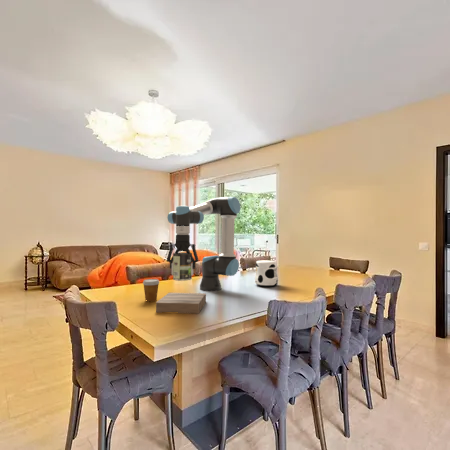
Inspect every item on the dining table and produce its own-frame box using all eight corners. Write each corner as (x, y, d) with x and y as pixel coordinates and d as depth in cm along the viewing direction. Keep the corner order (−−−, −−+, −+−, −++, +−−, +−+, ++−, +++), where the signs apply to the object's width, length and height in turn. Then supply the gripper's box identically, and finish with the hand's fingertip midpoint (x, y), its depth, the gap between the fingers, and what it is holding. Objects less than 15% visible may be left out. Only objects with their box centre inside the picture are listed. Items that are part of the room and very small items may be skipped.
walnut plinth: (169, 301, 165) (169, 292, 165) (205, 302, 162) (205, 293, 162) (156, 312, 143) (156, 302, 143) (198, 313, 140) (198, 303, 140)
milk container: (252, 283, 217) (252, 260, 217) (274, 283, 219) (274, 260, 219) (257, 288, 200) (257, 263, 200) (281, 287, 201) (281, 262, 202)
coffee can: (194, 277, 156) (194, 252, 157) (188, 281, 146) (188, 254, 147) (177, 277, 159) (177, 252, 159) (169, 280, 148) (170, 253, 149)
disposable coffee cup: (162, 299, 169) (162, 279, 169) (153, 303, 160) (153, 282, 160) (148, 297, 172) (148, 278, 172) (139, 301, 163) (139, 281, 163)
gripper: (160, 234, 150) (160, 275, 150) (201, 234, 148) (201, 276, 148) (164, 233, 158) (164, 273, 157) (204, 234, 155) (204, 274, 155)
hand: (182, 274), depth 153 cm, fingers closed on coffee can, 10 cm apart
